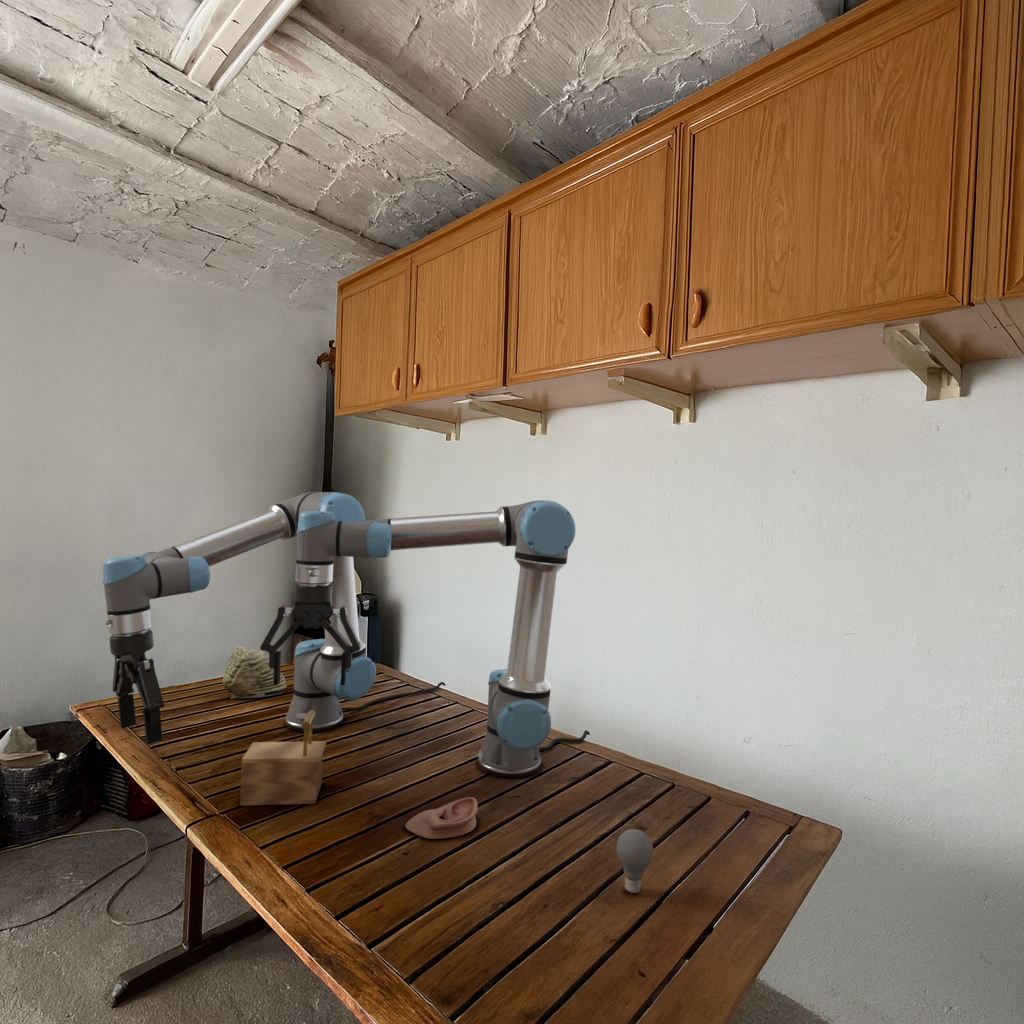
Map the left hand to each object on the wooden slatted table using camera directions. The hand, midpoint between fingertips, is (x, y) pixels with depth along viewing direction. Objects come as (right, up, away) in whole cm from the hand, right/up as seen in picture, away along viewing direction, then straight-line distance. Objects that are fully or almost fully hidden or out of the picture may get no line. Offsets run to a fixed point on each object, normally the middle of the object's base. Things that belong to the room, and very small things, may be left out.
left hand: (141, 733), depth 130 cm
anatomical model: (+62, -16, -6) cm, 65 cm away
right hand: (+33, +9, +4) cm, 35 cm away
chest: (+28, -14, +4) cm, 31 cm away
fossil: (-4, -12, +68) cm, 69 cm away
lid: (+28, -6, +4) cm, 29 cm away
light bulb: (+96, -18, -24) cm, 101 cm away
